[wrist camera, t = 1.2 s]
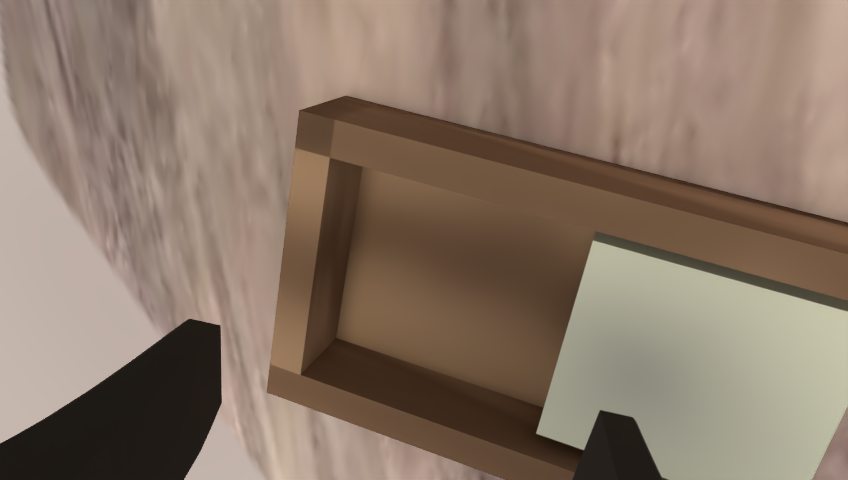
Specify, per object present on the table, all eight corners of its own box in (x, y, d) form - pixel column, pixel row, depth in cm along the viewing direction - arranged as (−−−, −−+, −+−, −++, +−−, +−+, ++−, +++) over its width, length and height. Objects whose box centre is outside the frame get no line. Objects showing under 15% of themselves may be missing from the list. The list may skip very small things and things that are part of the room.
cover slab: (779, 474, 24) (790, 522, 22) (547, 396, 26) (535, 433, 23) (865, 289, 21) (888, 322, 19) (600, 217, 23) (593, 240, 21)
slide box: (774, 509, 25) (790, 583, 22) (310, 348, 29) (266, 392, 26) (903, 236, 21) (945, 280, 18) (345, 95, 25) (299, 110, 22)
